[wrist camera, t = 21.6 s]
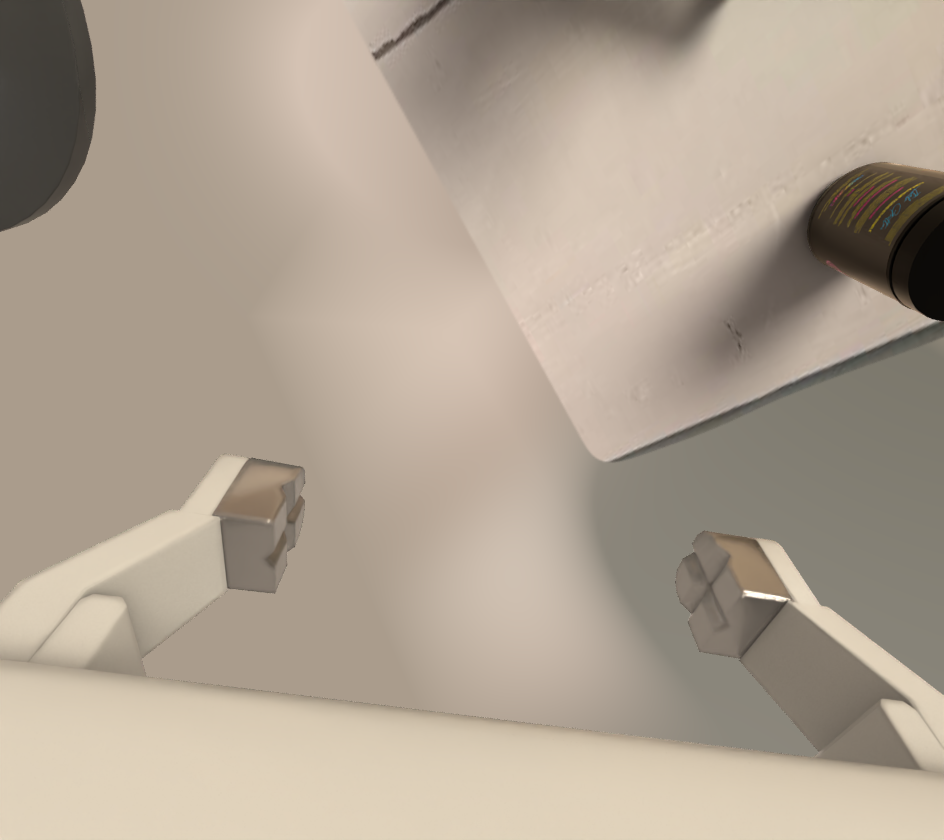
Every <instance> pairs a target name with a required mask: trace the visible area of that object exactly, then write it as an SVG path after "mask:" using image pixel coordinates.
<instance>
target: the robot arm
mask: <svg viewBox="0 0 944 840" xmlns="http://www.w3.org/2000/svg"><path fill="white" fill-rule="evenodd" d="M304 484H305V470H304V468H303V467H300V466H294V465H289V464H283V463H277V462H272V461H266V460H261V459H255V458H247V457H242V456H236V455H231V454H223V455H221V456H219V457H218V458H217V459H216V461H215V462H214V463H213V465H212V466H211V468H210V469H209V471H208V472H207V473H206V475H205V476H204V477H203V479H202V480H201V481H200V483H199V484H198V485H197V487H196V488H195V490H194V491H193V492H192V494H191V495H190V496H189V498H188V499H187V500H186V502H185V503H184V505H183V506H182V507H181V508H180V510H179V511H178V510H168V511H166V512H164V513H162V514H160V515H158V516H156V517H154V518H151V519H149V520H147V521H145V522H143V523H141V524H139V525H137V526H135V527H133V528H130V529H128V530H126V531H124V532H122V533H120V534H118V535H116V536H114V537H112V538H110V539H108V540H105V541H103V542H101V543H99V544H97V545H95V546H93V547H91V548H89V549H86V550H84V551H82V552H80V553H78V554H76V555H74V556H72V557H70V558H68V559H65V560H63V561H61V562H59V563H57V564H55V565H53V566H51V567H49V568H46V569H44V570H42V571H40V572H38V573H36V574H34V575H32V576H30V577H28V578H25V579H23V580H21V581H20V582H19V583H18V584H17V585H16V586H15V587H14V588H13V589H12V590H11V591H10V593H8V594H7V596H5V598H4V599H3V600H2V601H1V602H0V840H944V695H942V694H941V693H940V692H938V691H937V690H936V689H934V688H933V687H932V686H931V685H929V684H928V683H927V682H925V681H924V680H923V679H922V678H920V677H919V676H918V675H916V674H915V673H914V672H912V671H911V670H910V669H908V668H907V667H906V666H905V665H903V664H902V663H901V662H899V661H898V660H897V659H895V658H894V657H893V656H891V655H890V654H889V653H887V652H886V651H885V650H884V649H882V648H881V647H880V646H878V645H877V644H876V643H874V642H873V641H872V640H870V639H869V638H868V637H866V636H865V635H864V634H863V633H861V632H860V631H859V630H857V629H856V628H855V627H853V626H852V625H851V624H850V623H848V622H847V621H846V620H844V619H843V618H842V617H840V616H839V615H838V614H836V613H835V612H834V611H832V610H831V609H830V608H829V607H823V606H820V604H819V603H818V601H817V599H816V598H815V596H814V595H813V593H812V592H811V590H810V589H809V588H808V586H807V584H806V583H805V581H804V580H803V578H802V577H801V575H800V574H799V572H798V571H797V569H796V568H795V566H794V565H793V563H792V562H791V560H790V559H789V557H788V556H787V554H786V553H785V551H784V550H783V548H782V547H781V545H779V544H778V543H777V542H775V541H773V540H766V539H759V538H747V537H742V536H735V535H729V534H722V533H715V532H709V531H703V532H701V533H700V534H698V535H697V537H696V538H695V540H694V542H693V543H692V545H693V548H694V552H693V553H692V554H690V555H688V556H686V557H685V558H683V559H682V561H681V563H680V565H679V567H678V569H677V574H676V581H675V583H676V591H677V595H678V597H679V600H680V603H681V604H682V605H683V606H684V607H685V608H686V609H687V610H688V611H689V612H690V613H691V616H690V618H689V621H688V624H689V626H690V629H691V631H692V634H693V636H694V639H695V642H696V644H697V647H698V649H699V652H704V653H710V654H716V655H722V656H728V657H734V658H740V660H739V661H740V662H741V663H742V664H743V665H744V666H745V668H746V669H747V670H748V671H749V672H750V673H751V674H752V676H753V677H754V678H755V679H756V680H757V681H758V682H759V684H760V685H761V686H762V687H763V688H764V689H765V690H766V692H767V693H768V694H769V695H770V696H771V697H772V699H773V700H774V701H775V702H776V703H777V704H778V705H779V707H781V709H782V710H783V711H784V712H785V713H786V715H787V716H788V717H789V718H790V719H791V720H792V721H793V722H794V724H795V725H796V726H797V727H798V728H799V729H800V731H801V732H802V733H803V734H804V735H805V736H806V737H807V739H808V740H809V741H810V742H811V743H812V744H813V746H814V747H815V748H816V749H817V750H818V751H819V753H818V754H816V755H815V756H814V757H807V756H798V755H789V754H782V753H774V752H765V751H757V750H749V749H741V748H732V747H724V746H716V745H708V744H699V743H691V742H683V741H674V740H666V739H658V738H650V737H641V736H633V735H624V734H616V733H608V732H600V731H591V730H583V729H574V728H567V727H566V728H565V727H558V726H550V725H542V724H533V723H525V722H517V721H507V720H500V719H492V718H484V717H476V716H467V715H459V714H450V713H443V712H434V711H426V710H418V709H410V708H402V707H393V706H385V705H377V704H369V703H361V702H352V701H344V700H337V699H328V698H319V697H312V696H304V695H295V694H287V693H279V692H271V691H262V690H254V689H245V688H237V687H229V686H220V685H213V684H204V683H196V682H187V681H179V680H171V679H162V678H154V677H147V676H146V673H145V669H144V665H143V662H142V658H143V657H145V656H146V655H147V654H148V653H150V652H151V651H152V650H153V649H155V648H156V647H157V646H158V645H160V644H161V643H162V642H164V641H165V640H166V639H167V638H169V637H170V636H171V635H172V634H174V633H175V632H176V631H177V630H179V629H180V628H181V627H182V626H184V625H185V624H186V623H188V622H189V621H190V620H191V619H193V618H194V617H195V616H197V615H198V614H199V613H200V612H202V611H203V610H204V609H205V608H207V607H208V606H209V605H210V604H212V603H213V602H214V601H215V600H217V599H218V598H219V597H220V596H222V595H223V594H224V593H226V592H227V588H229V589H238V590H248V591H257V592H266V593H275V592H276V590H277V588H278V585H279V583H280V581H281V578H282V576H283V573H284V571H285V569H286V566H287V552H288V551H289V550H291V549H292V548H294V547H295V545H296V542H297V540H298V537H299V534H300V531H301V527H302V523H303V518H304V510H305V509H304V508H305V500H304V499H303V497H302V496H301V495H300V493H301V491H302V489H303V487H304Z"/></svg>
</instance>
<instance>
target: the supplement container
mask: <svg viewBox="0 0 944 840" xmlns="http://www.w3.org/2000/svg"><path fill="white" fill-rule="evenodd" d="M807 238H808V243H809V247H810V249H811V251H812V253H813V255H814V256H815V257H816V258H817V260H819V261H820V262H821V263H823V264H825V265H827V266H829V267H831V268H833V269H835V270H837V271H839V272H841V273H843V274H845V275H847V276H849V277H850V278H852V279H854V280H856V281H858V282H860V283H862V284H864V285H866V286H868V287H870V288H872V289H874V290H876V291H878V292H880V293H882V294H884V295H886V296H888V297H890V298H892V299H894V300H896V301H898V302H899V303H900V304H902V305H903V306H905V307H907V308H909V309H912V310H915V311H917V312H919V313H920V314H922V315H924V316H926V317H929V318H931V319H935V320H939V321H944V172H941V171H936V170H930V169H924V168H918V167H912V166H906V165H901V164H895V163H888V162H878V163H872V164H868V165H865V166H862V167H859V168H857V169H855V170H852V171H851V172H849V173H847V174H845V175H844V176H842V177H841V178H839V179H838V180H837V181H835V182H834V183H833V184H832V185H831V186H830V187H829V188H828V189H827V190H826V191H825V192H824V193H823V195H822V196H821V197H820V199H819V200H818V202H817V203H816V205H815V207H814V209H813V211H812V213H811V216H810V219H809V223H808V229H807Z"/></svg>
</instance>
